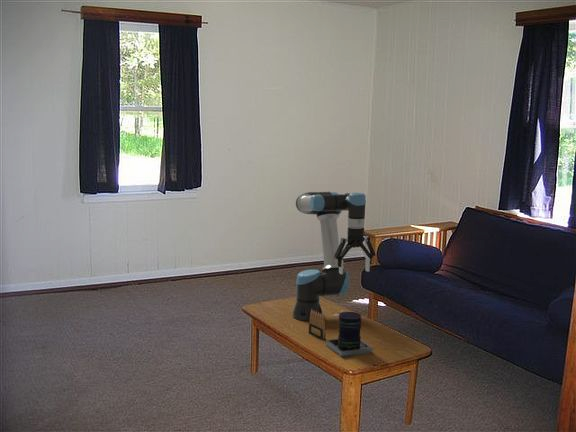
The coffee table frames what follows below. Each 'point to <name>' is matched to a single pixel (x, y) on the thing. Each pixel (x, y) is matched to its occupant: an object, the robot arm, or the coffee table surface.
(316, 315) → the ammunition clip
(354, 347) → the storage jar
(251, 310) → the coffee table surface
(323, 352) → the coffee table surface
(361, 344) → the cradle tray
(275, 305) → the coffee table surface
